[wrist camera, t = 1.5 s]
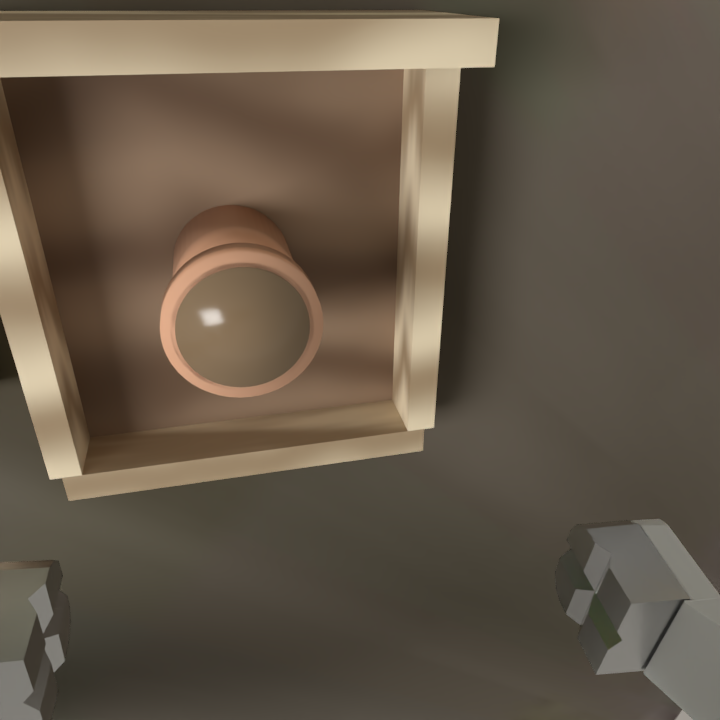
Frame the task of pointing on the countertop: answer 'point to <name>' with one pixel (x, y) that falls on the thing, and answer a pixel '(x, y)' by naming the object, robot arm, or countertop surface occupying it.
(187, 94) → the wooden box
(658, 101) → the countertop surface
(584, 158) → the countertop surface
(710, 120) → the countertop surface
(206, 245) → the seedling pot
